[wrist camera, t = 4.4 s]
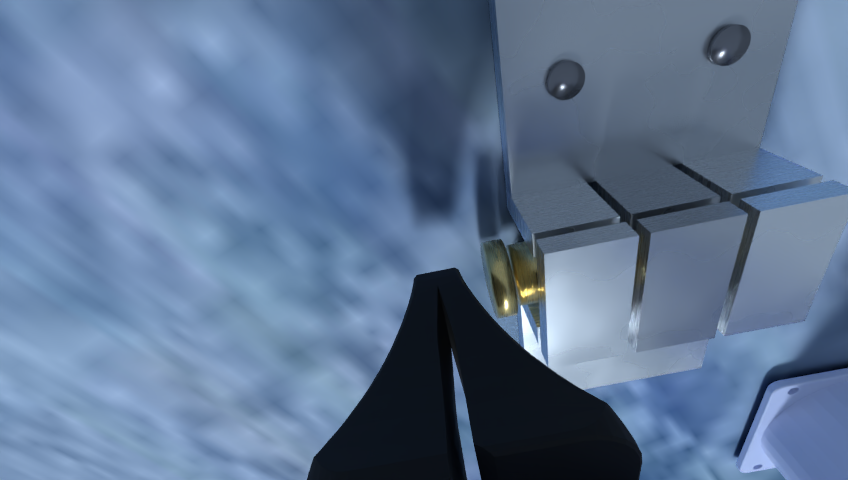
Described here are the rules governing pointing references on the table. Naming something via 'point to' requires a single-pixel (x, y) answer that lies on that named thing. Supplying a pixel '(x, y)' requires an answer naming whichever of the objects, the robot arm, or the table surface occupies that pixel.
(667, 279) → the hinge
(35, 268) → the table surface
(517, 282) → the pin
